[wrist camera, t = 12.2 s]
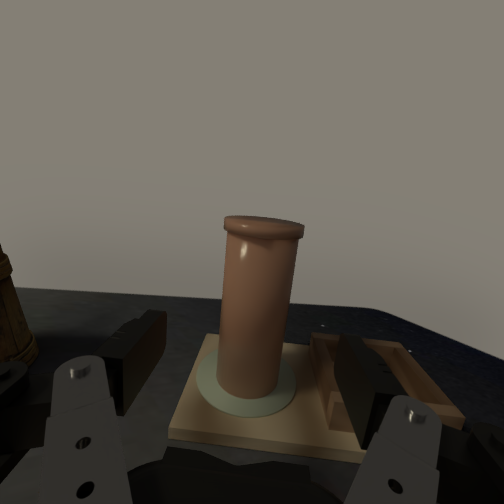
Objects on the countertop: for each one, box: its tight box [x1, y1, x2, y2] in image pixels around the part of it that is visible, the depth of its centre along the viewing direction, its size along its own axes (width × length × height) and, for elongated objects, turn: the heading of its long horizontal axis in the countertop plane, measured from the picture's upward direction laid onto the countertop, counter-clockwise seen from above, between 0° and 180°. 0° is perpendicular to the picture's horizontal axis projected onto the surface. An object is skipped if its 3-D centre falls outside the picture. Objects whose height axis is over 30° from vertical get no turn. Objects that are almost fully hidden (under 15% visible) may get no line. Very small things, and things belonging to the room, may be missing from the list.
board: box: [168, 332, 466, 464], centre depth 23 cm, size 22×12×4 cm, turn 87°
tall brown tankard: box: [216, 216, 304, 399], centre depth 23 cm, size 6×8×14 cm
